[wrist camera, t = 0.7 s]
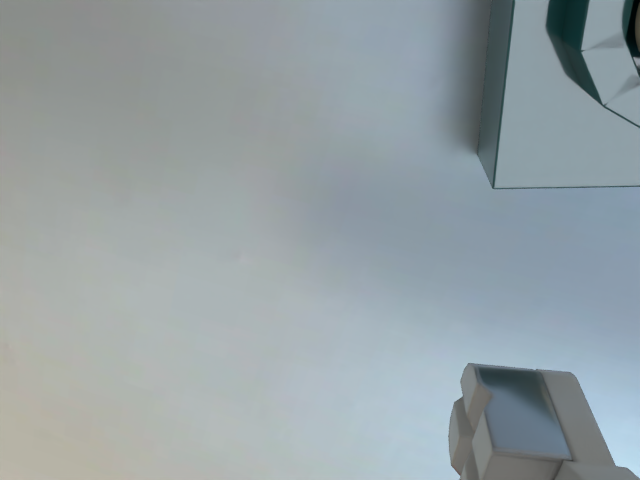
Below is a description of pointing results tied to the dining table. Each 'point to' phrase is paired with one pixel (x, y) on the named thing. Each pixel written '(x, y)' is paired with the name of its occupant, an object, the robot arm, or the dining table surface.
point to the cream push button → (637, 27)
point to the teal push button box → (561, 95)
